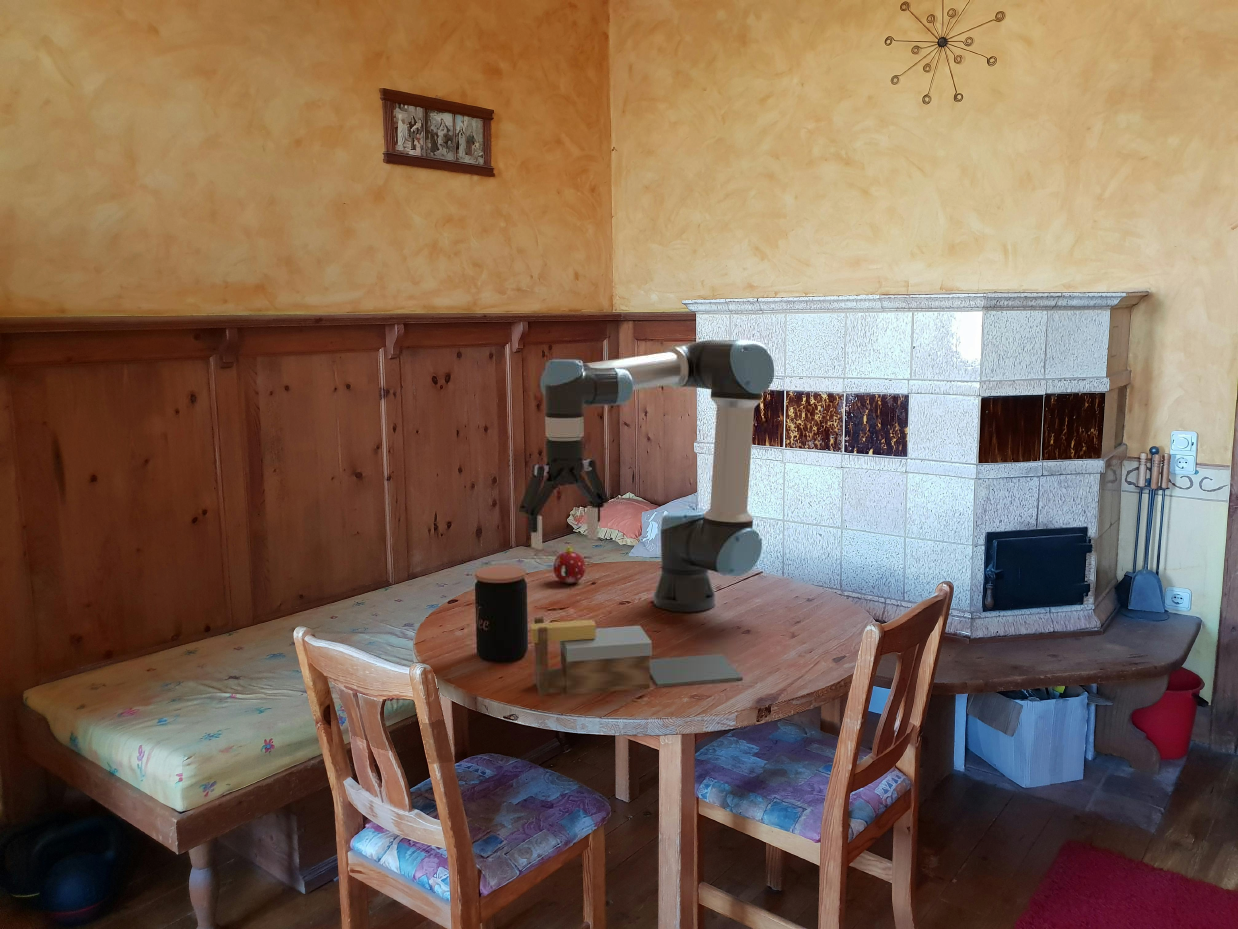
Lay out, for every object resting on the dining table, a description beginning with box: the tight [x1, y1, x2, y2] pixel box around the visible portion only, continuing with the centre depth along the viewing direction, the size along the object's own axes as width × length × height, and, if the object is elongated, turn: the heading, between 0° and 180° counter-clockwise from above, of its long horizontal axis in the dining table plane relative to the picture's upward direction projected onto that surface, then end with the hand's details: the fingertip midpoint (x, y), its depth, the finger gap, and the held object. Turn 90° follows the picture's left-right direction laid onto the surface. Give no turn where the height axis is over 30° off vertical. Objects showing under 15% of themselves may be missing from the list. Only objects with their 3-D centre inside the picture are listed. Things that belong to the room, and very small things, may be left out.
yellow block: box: [529, 619, 597, 644], centre depth 175 cm, size 12×3×3 cm, turn 102°
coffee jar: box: [474, 564, 529, 664], centre depth 193 cm, size 11×11×18 cm
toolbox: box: [533, 617, 651, 698], centre depth 177 cm, size 21×7×13 cm, turn 102°
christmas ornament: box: [552, 546, 587, 585], centre depth 248 cm, size 9×9×10 cm
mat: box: [650, 653, 744, 688], centre depth 185 cm, size 17×13×1 cm
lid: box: [559, 625, 653, 662], centre depth 178 cm, size 16×10×4 cm, turn 102°
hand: (565, 543), depth 187 cm, fingers open, 13 cm apart
